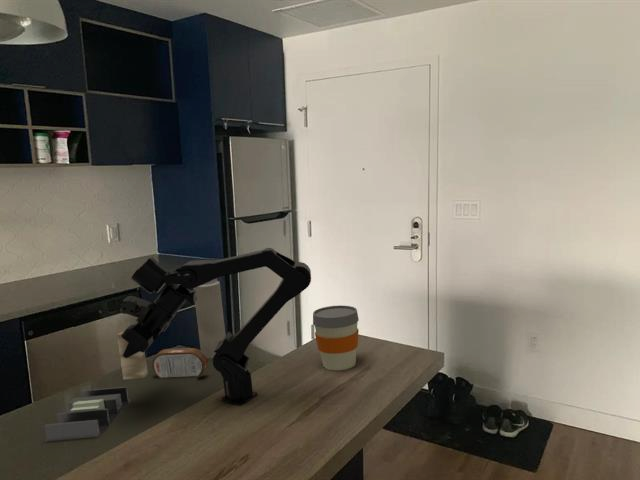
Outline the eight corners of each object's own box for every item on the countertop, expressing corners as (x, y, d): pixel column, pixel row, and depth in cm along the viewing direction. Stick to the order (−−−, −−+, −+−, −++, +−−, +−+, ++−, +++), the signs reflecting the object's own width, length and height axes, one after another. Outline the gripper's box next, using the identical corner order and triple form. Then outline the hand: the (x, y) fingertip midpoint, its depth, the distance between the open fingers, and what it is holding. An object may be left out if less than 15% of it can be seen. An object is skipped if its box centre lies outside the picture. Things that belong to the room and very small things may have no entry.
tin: (209, 375, 137) (206, 346, 136) (205, 380, 134) (202, 350, 133) (157, 377, 139) (153, 348, 138) (152, 382, 136) (148, 352, 135)
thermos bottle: (212, 348, 160) (202, 262, 156) (232, 350, 156) (222, 262, 153) (196, 357, 153) (185, 267, 149) (217, 359, 149) (206, 267, 146)
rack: (131, 403, 123) (128, 386, 122) (101, 440, 106) (98, 420, 105) (82, 407, 123) (80, 390, 122) (45, 445, 105) (41, 425, 105)
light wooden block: (147, 373, 121) (141, 329, 120) (144, 377, 118) (137, 332, 117) (127, 375, 121) (120, 331, 120) (123, 379, 118) (116, 335, 117)
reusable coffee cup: (320, 356, 144) (315, 306, 143) (363, 355, 143) (359, 304, 141) (313, 373, 132) (308, 319, 130) (360, 372, 130) (356, 317, 128)
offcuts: (105, 415, 115) (103, 397, 115) (99, 423, 112) (96, 404, 111) (80, 417, 115) (77, 399, 115) (72, 425, 112) (69, 407, 111)
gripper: (151, 276, 126) (114, 322, 127) (124, 293, 108) (81, 347, 109) (186, 303, 127) (149, 349, 129) (165, 325, 109) (122, 378, 110)
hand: (126, 354), depth 119 cm, fingers closed on light wooden block, 2 cm apart
